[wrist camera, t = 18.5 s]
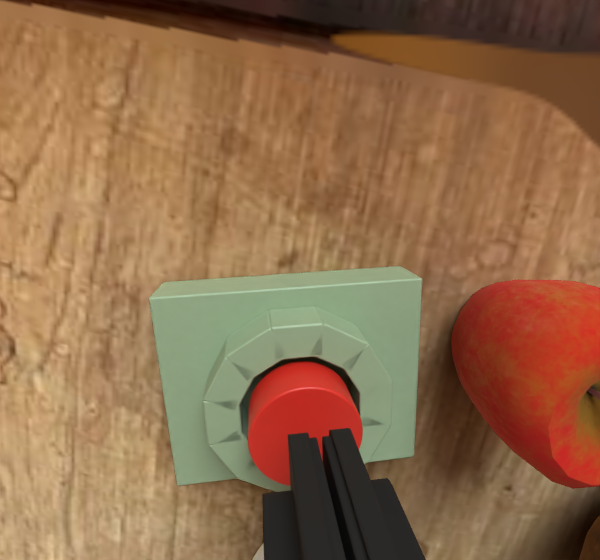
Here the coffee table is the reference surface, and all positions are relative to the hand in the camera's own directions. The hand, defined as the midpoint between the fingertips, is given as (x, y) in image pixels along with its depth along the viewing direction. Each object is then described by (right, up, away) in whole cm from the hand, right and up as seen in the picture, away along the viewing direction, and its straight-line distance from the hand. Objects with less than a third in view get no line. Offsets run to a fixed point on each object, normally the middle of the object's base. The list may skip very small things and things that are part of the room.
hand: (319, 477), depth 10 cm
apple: (+8, +3, +8) cm, 11 cm away
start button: (-1, +1, +3) cm, 3 cm away
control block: (-1, +2, +7) cm, 7 cm away
